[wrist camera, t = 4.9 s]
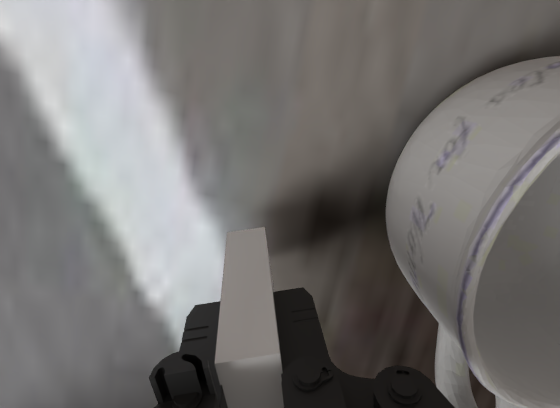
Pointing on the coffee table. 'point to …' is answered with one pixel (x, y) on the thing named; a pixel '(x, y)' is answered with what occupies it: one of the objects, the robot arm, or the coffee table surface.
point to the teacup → (487, 233)
